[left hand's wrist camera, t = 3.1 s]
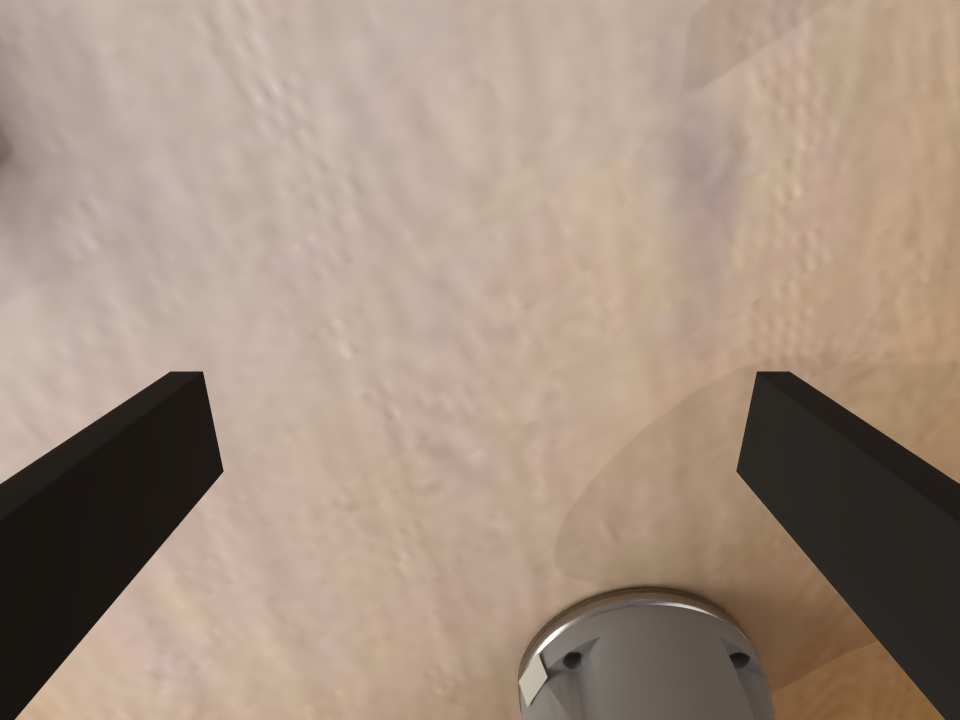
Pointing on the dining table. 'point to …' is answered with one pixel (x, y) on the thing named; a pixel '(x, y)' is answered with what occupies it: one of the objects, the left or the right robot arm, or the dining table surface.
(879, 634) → the left robot arm
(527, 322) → the dining table surface
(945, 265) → the dining table surface
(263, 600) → the dining table surface
